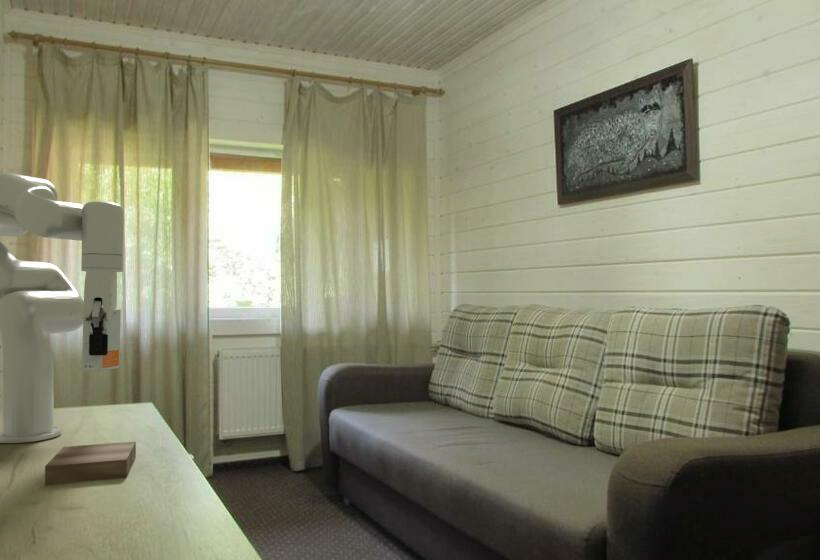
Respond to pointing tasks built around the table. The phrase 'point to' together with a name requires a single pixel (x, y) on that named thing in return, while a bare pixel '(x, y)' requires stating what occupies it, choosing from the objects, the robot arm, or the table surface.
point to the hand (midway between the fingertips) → (101, 352)
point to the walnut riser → (91, 463)
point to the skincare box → (113, 346)
